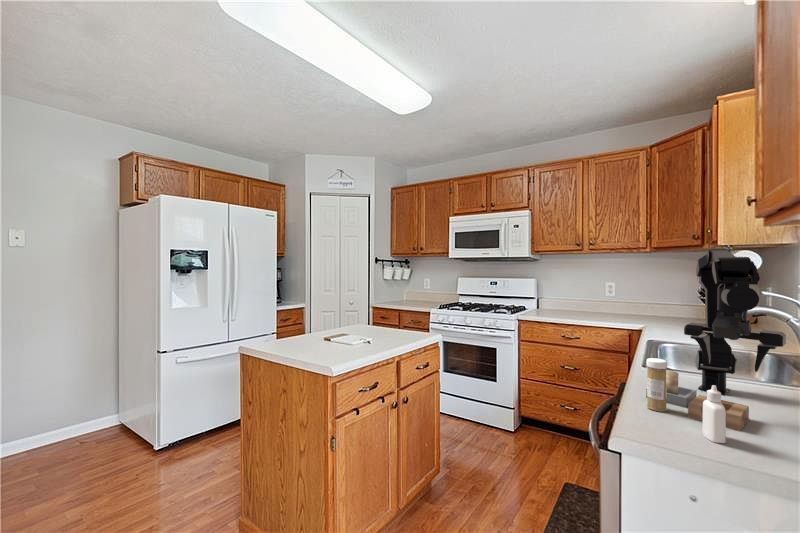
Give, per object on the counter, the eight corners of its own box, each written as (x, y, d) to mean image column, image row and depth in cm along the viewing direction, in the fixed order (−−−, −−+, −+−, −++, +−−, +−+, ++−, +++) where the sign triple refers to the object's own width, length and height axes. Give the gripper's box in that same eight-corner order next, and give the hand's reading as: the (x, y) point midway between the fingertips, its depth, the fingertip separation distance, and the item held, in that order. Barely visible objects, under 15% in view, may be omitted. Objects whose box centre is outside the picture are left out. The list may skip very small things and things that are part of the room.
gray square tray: (657, 390, 115) (657, 381, 115) (696, 399, 108) (696, 390, 108) (646, 397, 109) (646, 388, 109) (686, 407, 102) (686, 398, 102)
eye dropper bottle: (728, 437, 85) (728, 385, 85) (724, 445, 81) (725, 391, 81) (703, 431, 88) (704, 380, 88) (699, 438, 84) (699, 386, 84)
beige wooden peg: (662, 396, 109) (663, 372, 109) (666, 393, 111) (666, 370, 111) (676, 399, 106) (676, 374, 106) (679, 396, 108) (679, 372, 108)
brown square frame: (699, 407, 102) (699, 394, 102) (748, 419, 94) (748, 405, 94) (688, 417, 96) (688, 403, 96) (740, 431, 88) (740, 416, 88)
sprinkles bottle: (669, 409, 101) (670, 360, 100) (662, 413, 98) (662, 362, 98) (650, 404, 104) (651, 356, 104) (643, 408, 102) (643, 359, 102)
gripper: (677, 305, 97) (677, 365, 97) (779, 313, 82) (778, 383, 83) (690, 302, 104) (690, 357, 104) (786, 308, 89) (785, 373, 90)
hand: (731, 367), depth 95 cm, fingers open, 9 cm apart
